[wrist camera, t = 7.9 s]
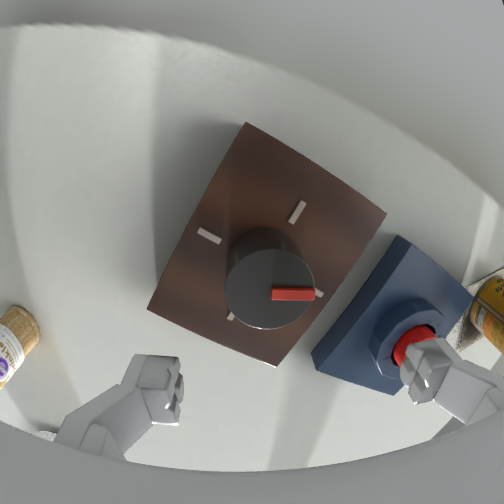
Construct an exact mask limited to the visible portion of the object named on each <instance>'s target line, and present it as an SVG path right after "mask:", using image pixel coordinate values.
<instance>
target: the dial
mask: <svg viewBox="0 0 504 504" xmlns="http://www.w3.org/2000/svg"><path fill="white" fill-rule="evenodd" d="M315 291H316V290H315V284H314V278H313V274H312V272H311V270H310V268H309V266H308V264H307V263H306V261H305V259H304V257H303V256H302V254H301V252H300V250H299V248H298V247H297V245H296V243H295V242H294V241H293V240H292V239H291V238H290V237H289V236H288V235H286V234H285V233H283V232H281V231H278V230H275V229H268V228H262V229H256V230H252V231H250V232H247V233H246V234H244V235H242V236H241V237H240V238H238V239H237V240H236V241H235V243H234V244H233V245H232V247H231V249H230V251H229V253H228V257H227V264H226V276H225V287H224V295H225V300H226V303H227V306H228V307H229V309H230V311H231V312H232V314H233V315H234V316H235V317H236V318H237V319H239V320H240V321H241V322H243V323H245V324H246V325H249V326H251V327H255V328H259V329H275V328H280V327H283V326H286V325H289V324H290V323H292V322H294V321H295V320H297V319H298V318H299V317H301V316H302V315H303V314H304V313H305V311H306V310H307V309H308V307H309V305H310V304H311V301H312V300H314V297H315Z"/></svg>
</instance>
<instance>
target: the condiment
mask: <svg viewBox="0 0 504 504" xmlns="http://www.w3.org/2000/svg"><path fill="white" fill-rule="evenodd" d="M468 292H469V293H470V294H471V295H472V296H473V297H474V299H473V300H472V302H471V303H470V305H469V306H468V308H467V309H466V311H465V316H464V327H463V332H462V337H461V346H460V350H459V352H460V351H462V350H463V349H465V348H466V347H468V346H469V345H471V344H473V343H474V342H476V341H478V340H479V339H481V338H483V337H484V336H485V337H486V338H487V339H488V340H489V341H490V342H491V343H492V344H493V345H494V346H495V347H496V348H497V349H498V350H499V351H500V352H501V353H502V354H503V355H504V269H501V270H499V271H497V272H495V273H493V274H491V275H489V276H487V277H485V278H483V279H482V280H480V281H479V282H476V283H474V284H472V285H470V286H468Z"/></svg>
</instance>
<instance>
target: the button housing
mask: <svg viewBox="0 0 504 504" xmlns="http://www.w3.org/2000/svg"><path fill="white" fill-rule="evenodd" d="M473 299H474V297H473V296H472V295H471V294H470V293H469V292H468V291H467V290H466V289H465V288H464V287H463V286H461V285H460V284H459V283H458V282H457V281H456V280H455V279H454V278H452V277H451V276H450V275H449V274H448V273H447V272H446V271H444V270H443V269H442V268H441V267H440V266H439V265H437V264H436V263H435V262H434V261H433V260H431V259H430V258H429V257H428V256H427V255H425V254H424V253H423V252H422V251H420V250H419V249H418V248H417V247H415V246H414V245H413V244H412V243H410V242H409V241H407V240H405V239H404V238H402V237H401V236H399V235H397V237H396V238H395V240H394V242H393V243H392V245H391V246H390V248H389V249H388V251H387V252H386V254H385V255H384V257H383V258H382V260H381V261H380V263H379V264H378V266H377V267H376V268H375V270H374V271H373V273H372V274H371V276H370V277H369V279H368V280H367V281H366V283H365V284H364V286H363V287H362V288H361V290H360V291H359V292H358V294H357V295H356V297H355V298H354V299H353V301H352V302H351V303H350V305H349V306H348V307H347V309H346V310H345V311H344V313H343V314H342V315H341V316H340V318H339V319H338V320H337V322H336V323H335V324H334V325H333V327H332V328H331V329H330V331H329V332H328V333H327V334H326V336H325V337H324V338H323V339H322V340H321V342H320V343H319V344H318V345H317V347H316V348H315V349H314V350H313V351H312V353H311V356H312V359H313V362H314V365H315V368H316V370H317V371H320V372H323V373H325V374H328V375H331V376H334V377H337V378H340V379H343V380H345V381H348V382H351V383H354V384H357V385H360V386H364V387H367V388H370V389H373V390H376V391H379V392H383V393H386V394H389V395H392V396H394V395H395V394H396V393H397V392H398V391H399V390H400V389H401V388H402V387H403V386H404V385H403V383H402V381H401V378H400V367H399V365H398V363H397V362H396V360H395V359H394V357H393V349H394V345H395V343H396V342H397V341H398V340H399V338H400V337H401V336H402V335H403V333H405V332H406V331H408V330H409V329H411V328H413V327H414V326H418V325H424V326H427V327H428V328H429V329H430V330H431V331H432V332H433V333H434V334H435V336H436V337H437V338H440V337H442V338H444V339H446V336H447V335H448V334H449V332H450V331H451V330H452V328H453V327H454V326H455V324H456V323H457V322H458V320H459V319H460V318H461V316H462V315H463V313H464V312H465V311H466V309H467V308H468V306H469V305H470V303H471V302H472V300H473Z"/></svg>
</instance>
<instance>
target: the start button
mask: <svg viewBox="0 0 504 504" xmlns="http://www.w3.org/2000/svg"><path fill="white" fill-rule="evenodd" d="M435 338H437V337H436V336H435V334H434V333H433V332H432V331H431V330H430V329H429V328H428V327H427V326H424V325H418V326H414V327H413V328H411V329H409V330H408V331H406V332H405V333H403V335H402V336H401V337H400V338H399V340H398V341H397V342H396V343H395V345H394V349H393V357H394V359H395V360H396V362H397V363H398V365H399V367H400V366H401V363H402V361H403V360H404V359H405V358H406V357H407V355H406V353H405V351H406V348H407V346H408V345H409V344H410V343H416V342H421V341H427V340H431V339H435Z"/></svg>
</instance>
